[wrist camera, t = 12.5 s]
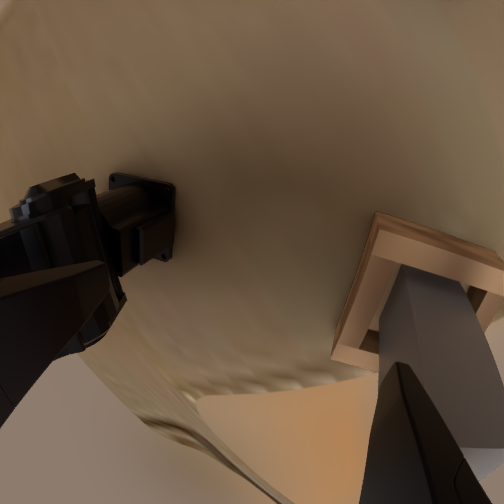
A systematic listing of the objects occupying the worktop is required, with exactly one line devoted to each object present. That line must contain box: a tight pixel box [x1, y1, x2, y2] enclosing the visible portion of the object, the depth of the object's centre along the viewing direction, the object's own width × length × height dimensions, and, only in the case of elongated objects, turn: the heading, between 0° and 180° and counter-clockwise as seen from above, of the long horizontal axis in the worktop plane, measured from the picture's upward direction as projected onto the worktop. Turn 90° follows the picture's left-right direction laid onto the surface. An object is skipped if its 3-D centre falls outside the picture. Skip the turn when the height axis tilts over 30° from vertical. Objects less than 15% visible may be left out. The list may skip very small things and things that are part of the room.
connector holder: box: [330, 212, 504, 372], centre depth 18 cm, size 10×10×4 cm
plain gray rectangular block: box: [378, 264, 504, 482], centre depth 13 cm, size 4×4×13 cm
